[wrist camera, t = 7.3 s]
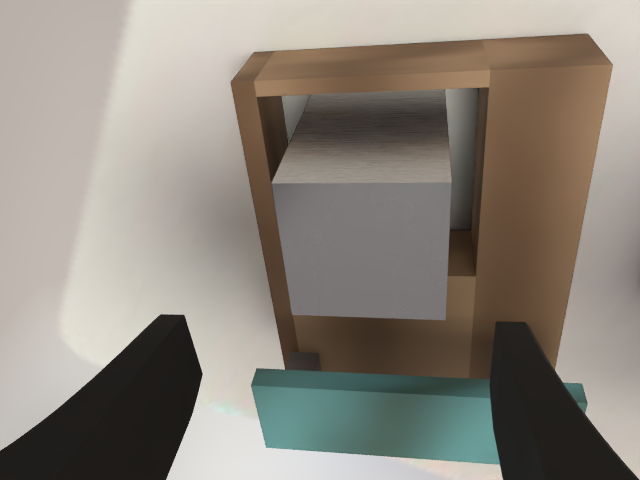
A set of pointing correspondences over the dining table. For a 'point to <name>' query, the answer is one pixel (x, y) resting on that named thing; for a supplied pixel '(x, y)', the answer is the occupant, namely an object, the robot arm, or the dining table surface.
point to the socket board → (464, 245)
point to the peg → (367, 206)
